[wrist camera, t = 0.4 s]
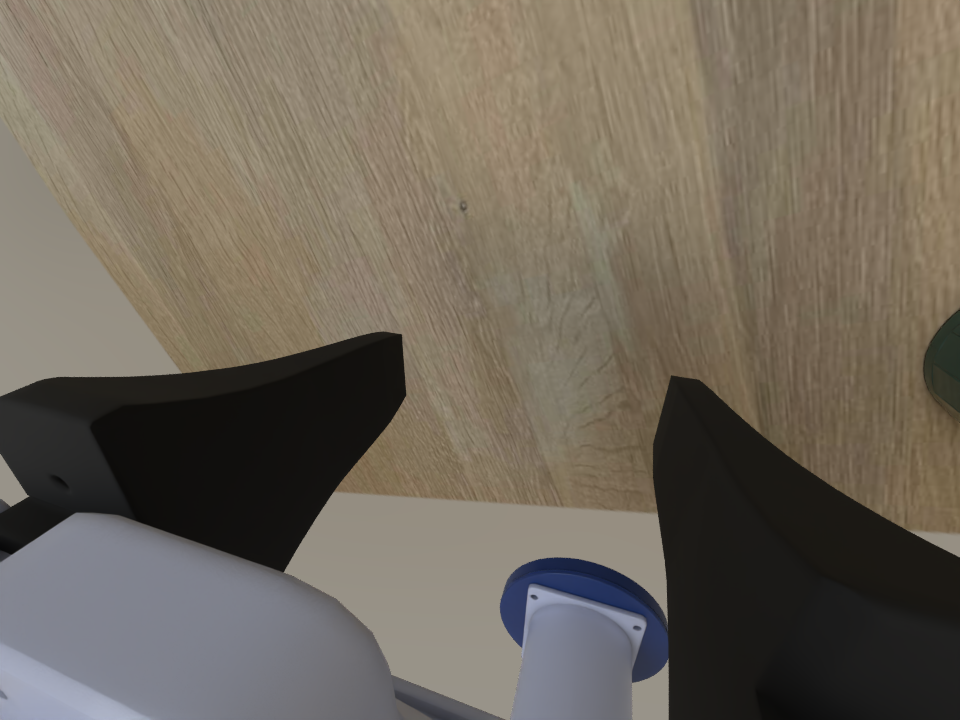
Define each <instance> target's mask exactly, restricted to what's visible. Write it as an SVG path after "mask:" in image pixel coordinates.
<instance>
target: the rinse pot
mask: <svg viewBox="0 0 960 720" xmlns="http://www.w3.org/2000/svg"><path fill="white" fill-rule="evenodd" d="M924 374H925V381H926V384H927V387H928V389H929V391H930V393H931V394H932V396H933V397H934V398H935V399H936V401H937V402H938V403H939V404H940V405H942V406H943V407H944V408H945V409H946V410H947V412H948V413H949V414H950V415H951V416H952V417H953V418H955V419H956V420H957V421H958V422H959V423H960V310H959V311H958V312H956V313H955V314H954V315H953V316H952V317H951V318H950V319H949V320H948V321H947V322H946V323H945V324H944V325H943V327H942V328H941V329H940V330H939V331H938V333H937V334H936V336H935V337H934V339H933V340H932V342H931V344H930V347H929V349H928V351H927V354H926V358H925V364H924Z"/></svg>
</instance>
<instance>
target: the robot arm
mask: <svg viewBox="0 0 960 720" xmlns="http://www.w3.org/2000/svg"><path fill="white" fill-rule="evenodd" d="M405 397H406V385H405V372H404V359H403V346H402V334H396V333H389V332H375V333H370V334H366V335H362V336H358V337H354V338H351V339H347V340H344V341H340V342H337V343H333V344H330V345H327V346H323V347H320V348H316V349H312V350H309V351H305V352H301V353H297V354H293V355H290V356H286V357H282V358H278V359H273V360H269V361H264V362H259V363H254V364H249V365H243V366H238V367H231V368H224V369H216V370H208V371H200V372H192V373H182V374H169V375H155V376H137V377H136V376H135V377H56V378H49V379H44V380H41V381H37V382H35V383H32V384H30V385H28V386H25V387H23V388H20V389H18V390H15V391H13V392H10V393H8V394H6V395H3V396H1V397H0V454H1V455H2V457H3V458H4V460H5V461H6V463H7V464H8V466H9V468H10V469H11V471H12V472H13V474H14V475H15V477H16V478H17V480H18V481H19V483H20V484H21V486H22V487H23V489H24V490H25V492H26V493H27V495H29V497H28V498H26V499H24V500H22V501H21V502H19V503H17V504H16V505H14V506H12V507H10V506H9V505H8V504H7V503H5V502H4V501H3V500H2V499H0V720H505V719H502V718H500V717H497V716H494V715H492V714H489V713H487V712H484V711H482V710H479V709H477V708H474V707H472V706H469V705H467V704H464V703H462V702H459V701H456V700H454V699H451V698H449V697H446V696H444V695H441V694H439V693H436V692H434V691H431V690H428V689H426V688H424V687H421V686H418V685H416V684H413V683H411V682H408V681H406V680H403V679H401V678H398V677H396V676H393V675H391V672H390V669H389V665H388V663H387V661H386V659H385V657H384V655H383V653H382V651H381V649H380V647H379V645H378V643H377V641H376V639H375V637H374V635H373V633H372V632H371V631H370V630H369V629H368V628H367V627H366V626H365V625H364V624H363V623H362V622H361V621H360V620H358V619H357V618H356V617H355V616H354V615H353V614H352V613H351V612H350V611H349V610H348V609H346V608H345V607H344V606H343V605H342V604H341V603H340V602H339V601H338V600H337V599H336V598H334V597H332V596H330V595H328V594H326V593H324V592H322V591H320V590H318V589H316V588H315V587H312V586H311V585H309V584H307V583H305V582H303V581H301V580H299V579H297V578H296V577H294V576H292V575H289V574H286V573H283V572H284V571H285V569H286V567H287V565H288V564H289V562H290V560H291V558H292V557H293V555H294V553H295V551H296V550H297V548H298V547H299V545H300V543H301V541H302V540H303V538H304V537H305V535H306V534H307V532H308V530H309V529H310V527H311V525H312V524H313V522H314V521H315V519H316V517H317V516H318V514H319V513H320V511H321V510H322V508H323V507H324V505H325V504H326V502H327V501H328V499H329V498H330V496H331V495H332V493H333V492H334V490H335V489H336V488H337V486H338V485H339V484H340V482H341V481H342V480H343V479H344V477H345V476H346V475H347V474H348V472H349V471H350V470H351V469H352V468H353V466H354V465H355V464H356V463H357V462H358V460H359V459H360V458H361V457H362V456H363V455H364V453H365V452H366V451H367V450H368V449H369V447H370V446H371V445H372V444H373V443H374V441H375V440H376V439H377V438H378V437H379V435H380V434H381V433H382V432H383V430H384V429H385V428H386V427H387V425H388V424H389V423H390V422H391V420H392V419H393V417H394V415H395V414H396V412H397V411H398V409H399V407H400V405H401V404H402V402H403V400H404V398H405ZM653 481H654V488H655V496H656V503H657V510H658V517H659V524H660V531H661V538H662V545H663V551H664V559H665V568H666V579H667V608H668V656H669V720H960V557H957V556H956V555H953V554H952V553H950V552H948V551H946V550H944V549H942V548H940V547H938V546H936V545H934V544H932V543H930V542H928V541H926V540H924V539H922V538H920V537H919V536H917V535H915V534H913V533H911V532H909V531H907V530H905V529H904V528H902V527H900V526H898V525H896V524H894V523H893V522H891V521H889V520H887V519H886V518H884V517H882V516H880V515H879V514H877V513H875V512H873V511H872V510H870V509H868V508H867V507H865V506H863V505H861V504H860V503H858V502H856V501H854V500H853V499H851V498H850V497H848V496H846V495H845V494H843V493H841V492H840V491H838V490H837V489H835V488H834V487H832V486H830V485H829V484H827V483H826V482H825V481H823V480H822V479H820V478H819V477H817V476H816V475H814V474H813V473H811V472H810V471H808V470H807V469H805V468H804V467H802V466H801V465H799V464H798V463H797V462H795V461H794V460H793V459H791V458H790V457H788V456H787V455H786V454H785V453H783V452H782V451H781V450H779V449H778V448H777V447H776V446H774V445H773V444H772V443H771V442H769V441H768V440H767V439H766V438H764V437H763V436H762V435H761V434H759V433H758V432H757V431H756V430H755V429H754V428H752V427H751V426H750V425H749V424H748V423H747V422H745V421H744V420H743V419H742V418H741V417H740V416H739V415H738V414H737V413H735V412H734V411H733V410H732V409H731V408H730V407H729V406H728V405H727V404H726V403H725V402H724V401H722V400H721V399H720V398H719V397H718V396H717V395H716V394H715V393H714V392H713V391H712V390H711V389H709V388H708V387H707V386H706V385H705V384H704V383H703V382H701V381H700V380H697V379H690V378H684V377H677V376H671V378H670V382H669V386H668V390H667V394H666V397H665V401H664V405H663V409H662V413H661V416H660V420H659V424H658V428H657V431H656V435H655V439H654V443H653ZM646 626H647V623H646V618H645V617H644V616H643V615H641V614H638V613H634V612H631V611H627V610H624V609H621V608H617V607H614V606H610V605H607V604H604V603H600V602H597V601H593V600H590V599H586V598H583V597H580V596H576V595H573V594H569V593H566V592H563V591H559V590H556V589H552V588H549V587H545V586H542V585H539V584H534V583H533V584H530V585H529V588H528V595H527V605H526V616H525V626H524V636H523V646H522V664H521V669H520V674H519V679H518V684H517V689H516V694H515V698H514V703H513V708H512V713H511V718H510V720H632V669H633V666H634V663H635V660H636V657H637V654H638V650H639V647H640V644H641V641H642V638H643V635H644V632H645V629H646Z"/></svg>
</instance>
